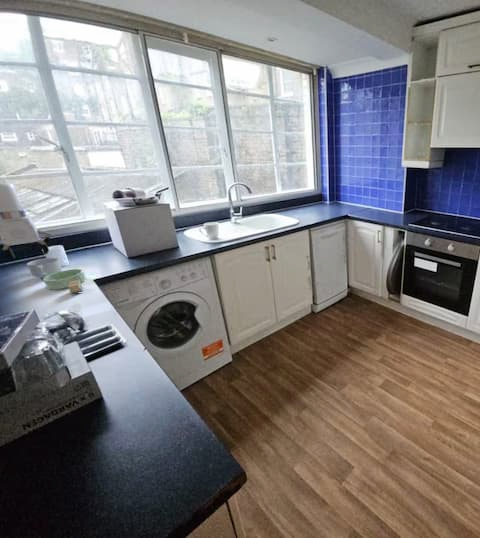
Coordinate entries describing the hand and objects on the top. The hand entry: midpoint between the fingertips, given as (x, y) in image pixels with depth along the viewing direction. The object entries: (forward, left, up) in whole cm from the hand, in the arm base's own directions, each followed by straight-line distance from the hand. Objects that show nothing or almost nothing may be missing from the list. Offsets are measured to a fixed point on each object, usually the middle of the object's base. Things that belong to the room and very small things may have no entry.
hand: (30, 255), depth 122 cm
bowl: (+6, +3, -16) cm, 17 cm away
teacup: (-2, +20, -16) cm, 25 cm away
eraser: (+11, -12, -16) cm, 22 cm away
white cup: (+1, +37, -16) cm, 40 cm away
